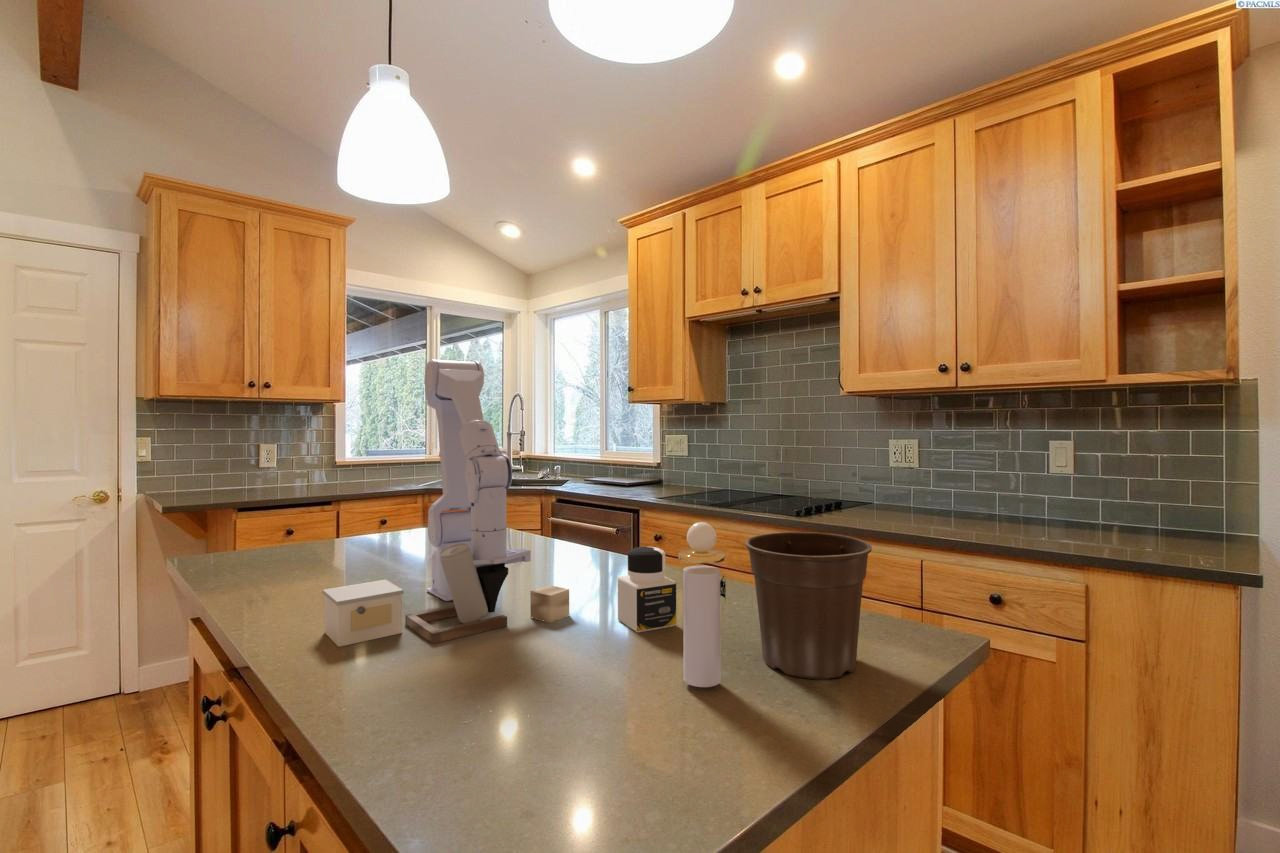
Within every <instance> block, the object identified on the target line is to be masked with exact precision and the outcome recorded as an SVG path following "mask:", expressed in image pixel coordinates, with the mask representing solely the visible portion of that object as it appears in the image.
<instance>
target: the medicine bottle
mask: <svg viewBox="0 0 1280 853" xmlns="http://www.w3.org/2000/svg"><path fill="white" fill-rule="evenodd" d="M665 575H666V552H665V550H663V549H661V548H659V547H654V546H637V547H634V548H632V549H630V550H629V551H628V552H627V575H624V576H619V577H617V621H619V622H621V623H622V624H624V625H625V626H627V627H628V628H630V629H631V630H633V631H634V632H636V633H637V634H638V633H639V634H640V633H644V632H650V631H654V630H655V631H656V630H660V629H667V628H671V627H675V626H677V581H675V580H674V579H671V578H669V577H667V576H665Z"/></svg>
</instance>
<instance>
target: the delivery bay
mask: <svg viewBox="0 0 1280 853" xmlns="http://www.w3.org/2000/svg"><path fill="white" fill-rule="evenodd" d="M404 616H405V617H404V618H405V620H404V621H405V622H404V623H405V625H406V626H407V627H408V626H409V627H408V628H410V629H411V630H412V631H414V632H415V631H416V633H417V634H419V636H421V637H422V636H423V637H422V638H424V639H425V640H427V642H429V641H430V642H429V643H431V644H432V643H433V645H434V643H435V644H438V642H439V643H442V641H443V642H446V640H447V641H451V640H455V639H459V637H460V638H463V637H468V636H472V635H476V634H479V633H480V632H481V633H484V631H485V632H488V631H493V630H497V629H500V627H501V628H504V627H503V626H506V627H508V616H506V615H505V614H501V615H497V616H493V617H488V618H482V619H481V620H479V621H474V622H470V623H465V624H463V623H461V624H457V625H452V626H448V627H444V628H439V629H437V628H436V627H434V626H432V625H431V624H430V622H434V621H438V619H439V620H443V618H444V619H448V618H447V617H449V618H453V617H458V615H457V612H456V608H455V605H454V604H452V605H448V606H443V607H438V608H433V609H428V610H424V611H418V612H414V613H409V614H408V613H407V614H405V615H404ZM429 621H430V622H429ZM496 628H497V629H496ZM492 629H493V630H492ZM454 638H455V639H454Z"/></svg>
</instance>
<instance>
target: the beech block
mask: <svg viewBox="0 0 1280 853" xmlns="http://www.w3.org/2000/svg"><path fill="white" fill-rule="evenodd" d="M529 594H530V618H531V617H533V618H537V619H540V620H539V621H541V620H544V621H543V622H545V621H548V622H547V623H549V622H552V623H554V622H556V621H555V620H557V621H559V620H562V619H564V618H563V617H565V618H566V616H567V617H569V616H570V589H569V588H565V587H559V586H556V585H555V586H554V585H546V586H542V587H538V588H537V589H533V590H530V593H529ZM568 615H569V616H568ZM533 618H532V619H533ZM561 618H562V619H561ZM537 619H536V620H537ZM558 619H559V620H558ZM553 621H554V622H553Z"/></svg>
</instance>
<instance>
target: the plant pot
mask: <svg viewBox="0 0 1280 853" xmlns="http://www.w3.org/2000/svg"><path fill="white" fill-rule="evenodd" d="M744 543H745V547H746V549H748V554H749V559H750V570H751V573H752V574H753V576H754V585H755V586H754V587H755V593H756V594H755V595H756V601H757V611H758V612H757V613H758V621H759V630H760V631H759V632H760V640H761V652H762V659H763V661H764V663H765V664H766V665H767V666H768V667H769V668H771V669H772V670H773V669H774V670H775V669H780V670H781V671H782V672H783V673H784V674H785V675H788V676H792V677H798V678H803V679H810V680H815V679H816V680H824V679H825V680H826V679H834V678H841V677H842V676H843V675H844V674H845V673H846V672H847V673H852V672H853V671H854V670H855V669H856V667H857V658H858V644H859V643H858V641H859V632H860V630H859V629H860V618H861V617H860V616H861V607H862V606H861V605H862V595H863V584H864V583H863V582H864V580H865V579H866V577H867V568H868V558H869V554H870V553H871V552H872V549H873V546H872V545H871V543H869V542H868V541H865V540H863V539H860V538H857V537H853V536H849V535H844V534H837V533H836V534H835V533H829V532H813V531H812V532H811V531H808V532H807V531H805V532H803V531H783V532H782V531H781V532H780V531H779V532H771V533H770V532H769V533H763V534H762V533H761V534H757V535H754V536H751V537H749V538H747V539H746V540H745V542H744Z"/></svg>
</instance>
